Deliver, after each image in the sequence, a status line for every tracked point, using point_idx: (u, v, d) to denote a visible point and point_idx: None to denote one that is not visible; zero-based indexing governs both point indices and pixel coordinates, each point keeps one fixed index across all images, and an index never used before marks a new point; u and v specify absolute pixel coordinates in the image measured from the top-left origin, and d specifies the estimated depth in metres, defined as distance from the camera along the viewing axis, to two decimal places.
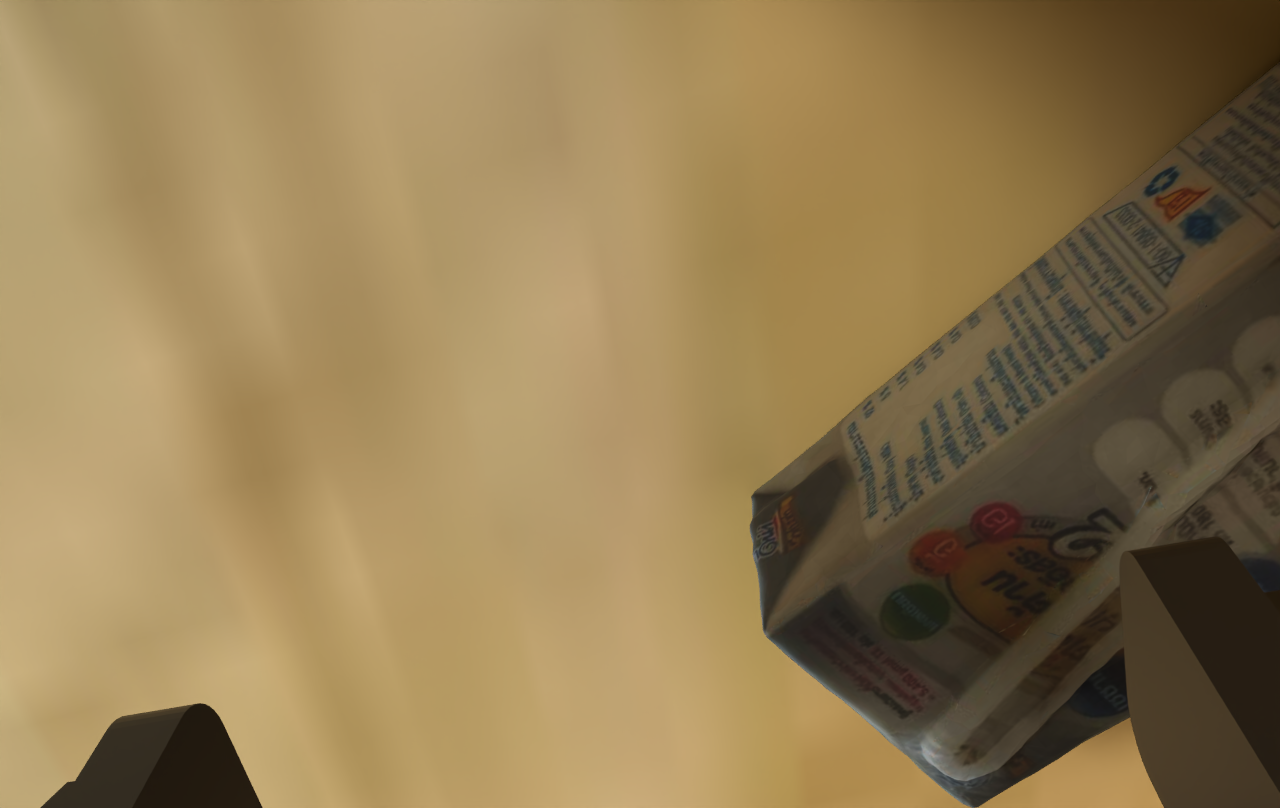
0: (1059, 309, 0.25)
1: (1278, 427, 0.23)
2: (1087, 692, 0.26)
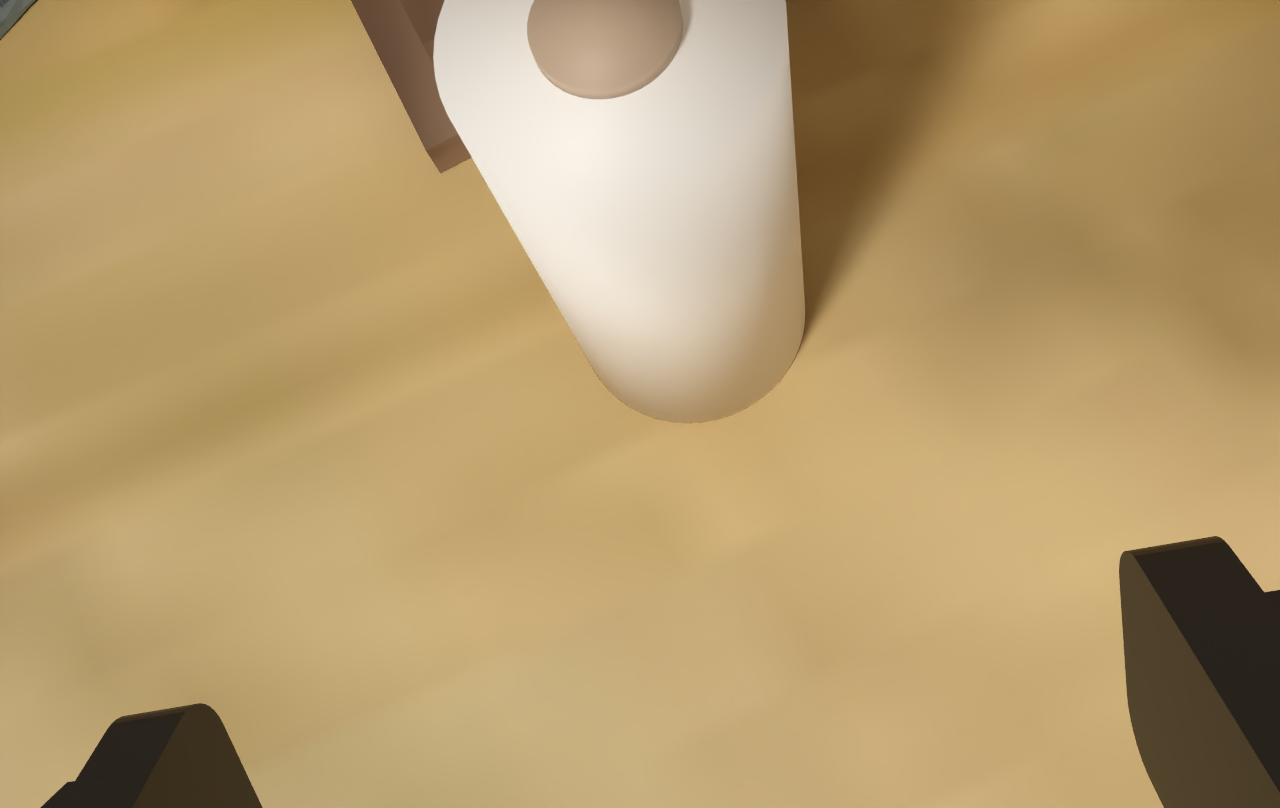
0: None
1: None
2: None
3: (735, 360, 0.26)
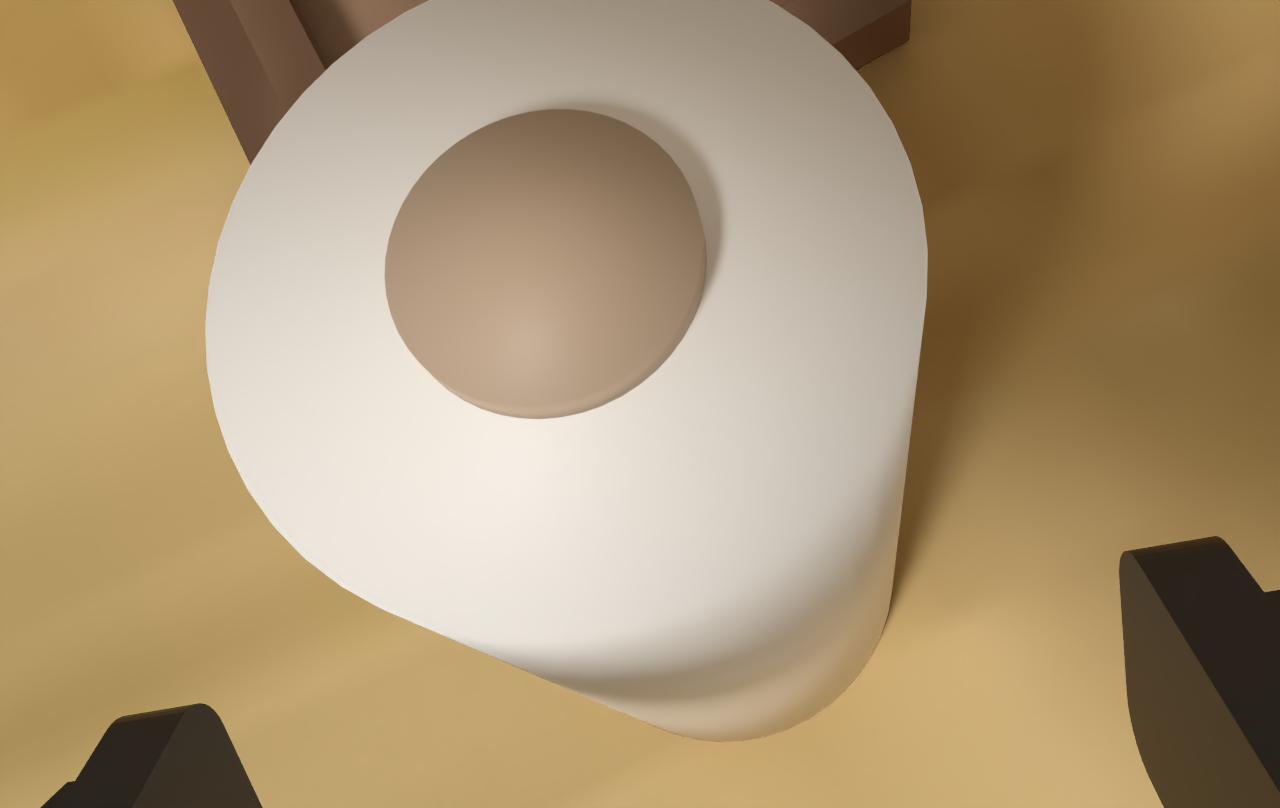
0: None
1: None
2: None
3: (800, 697, 0.16)
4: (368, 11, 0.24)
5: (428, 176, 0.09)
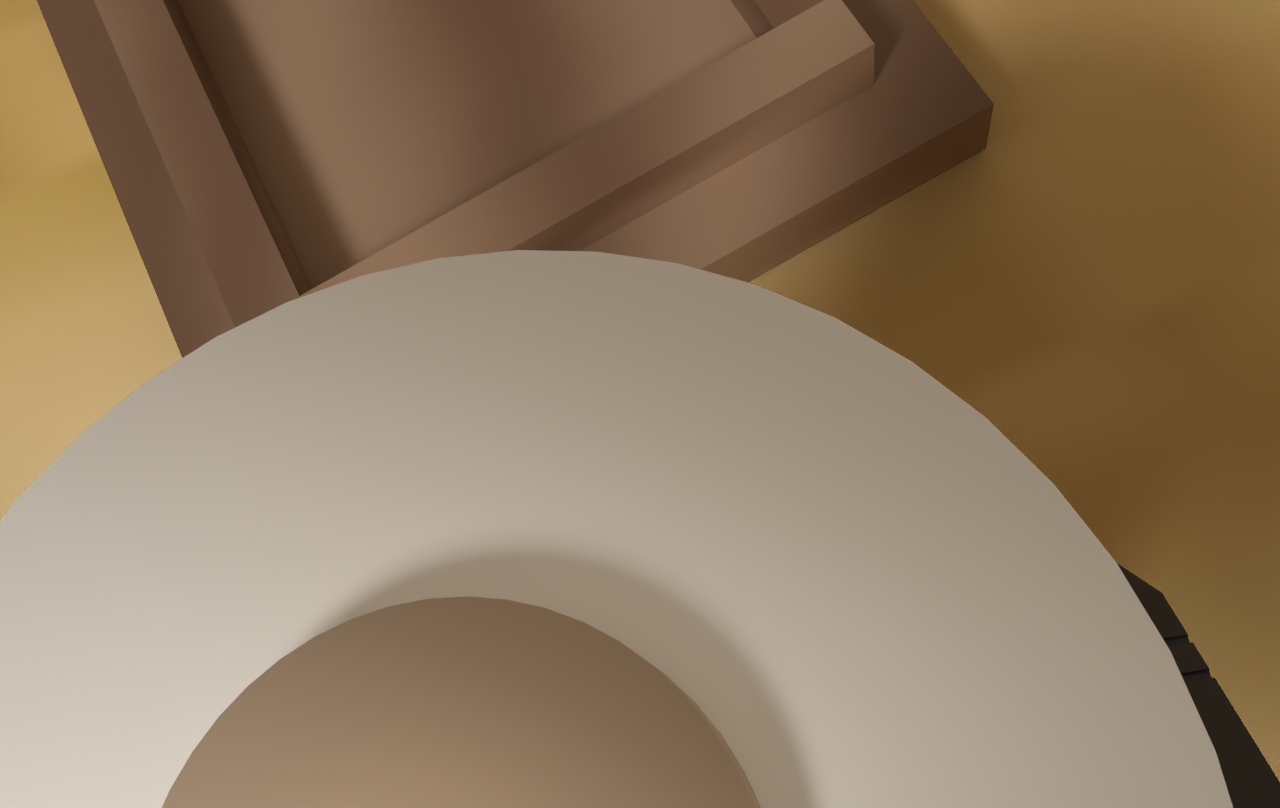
0: None
1: None
2: None
3: None
4: (309, 105, 0.19)
5: (225, 725, 0.05)
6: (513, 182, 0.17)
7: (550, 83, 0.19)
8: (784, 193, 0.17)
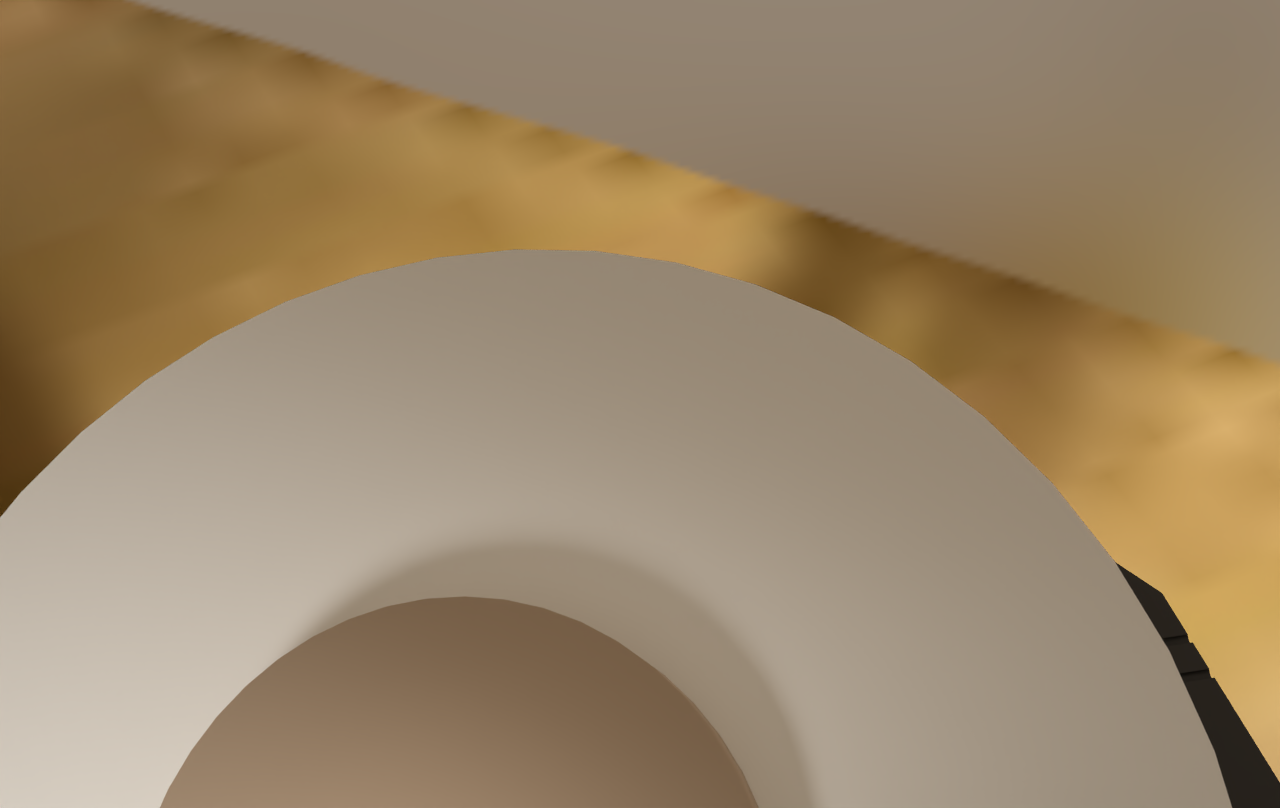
0: None
1: None
2: None
3: None
4: None
5: (224, 726, 0.05)
6: None
7: None
8: None
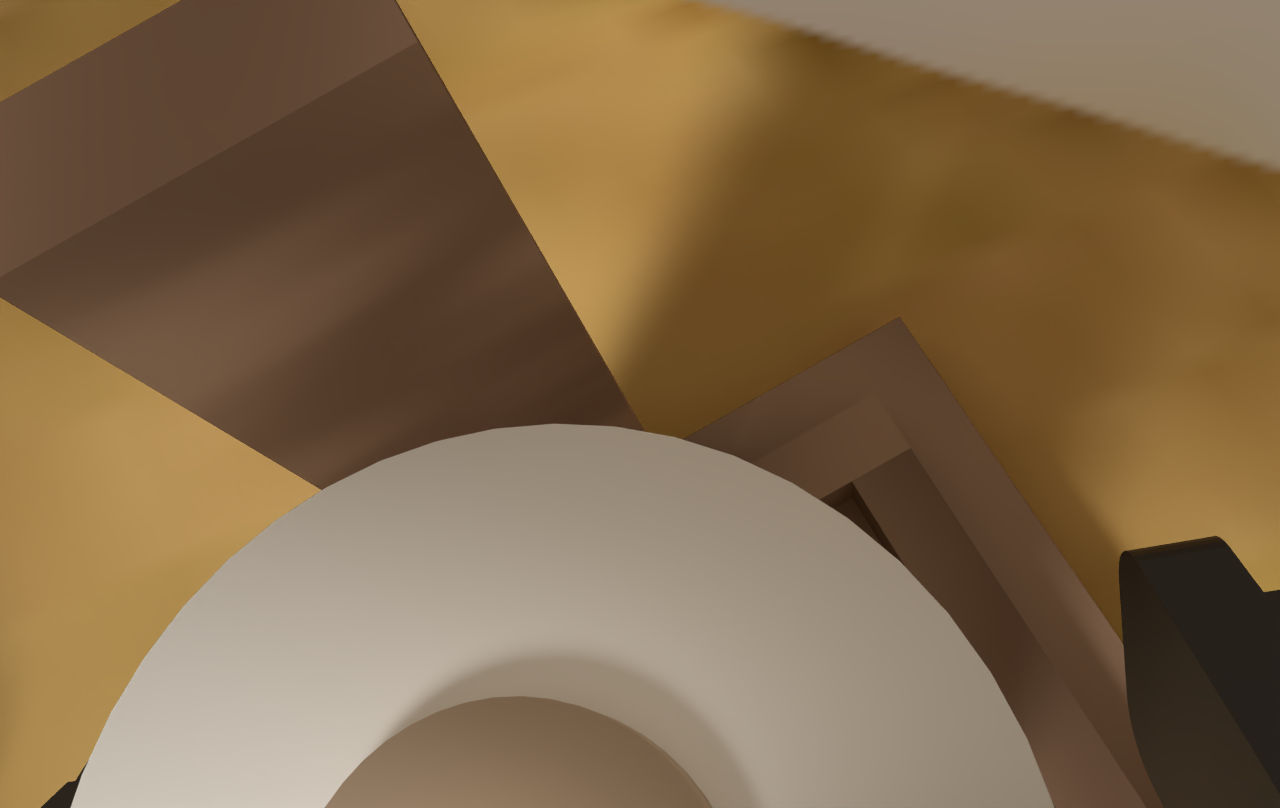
0: None
1: None
2: None
3: None
4: None
5: (347, 788, 0.07)
6: None
7: None
8: None
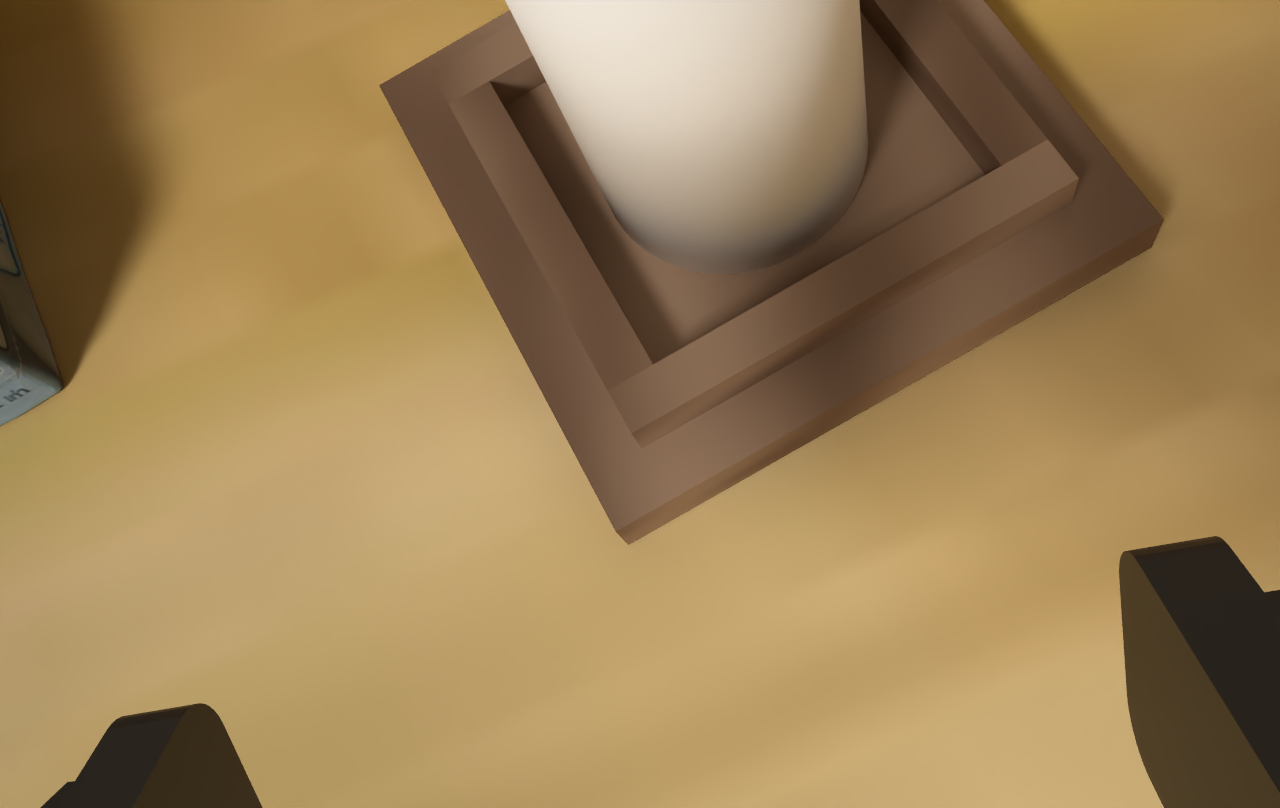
0: None
1: None
2: None
3: (784, 170, 0.21)
4: None
5: None
6: (810, 280, 0.23)
7: None
8: (1007, 286, 0.23)
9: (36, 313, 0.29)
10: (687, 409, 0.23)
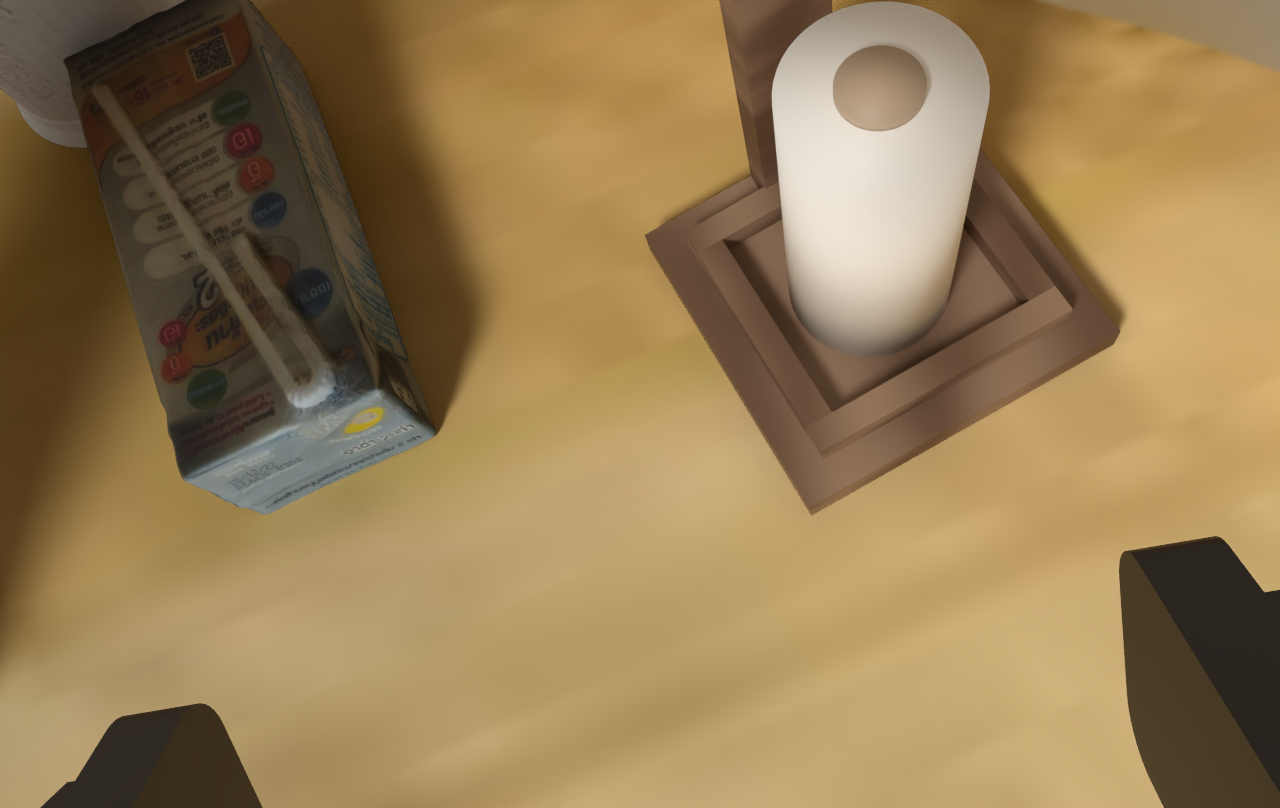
0: None
1: (176, 191, 0.44)
2: (310, 305, 0.42)
3: (915, 307, 0.39)
4: None
5: (843, 63, 0.32)
6: (921, 365, 0.41)
7: None
8: (1032, 368, 0.41)
9: (418, 385, 0.46)
10: (851, 437, 0.41)
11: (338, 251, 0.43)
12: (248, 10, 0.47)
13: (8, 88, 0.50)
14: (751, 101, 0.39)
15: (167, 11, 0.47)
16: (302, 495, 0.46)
